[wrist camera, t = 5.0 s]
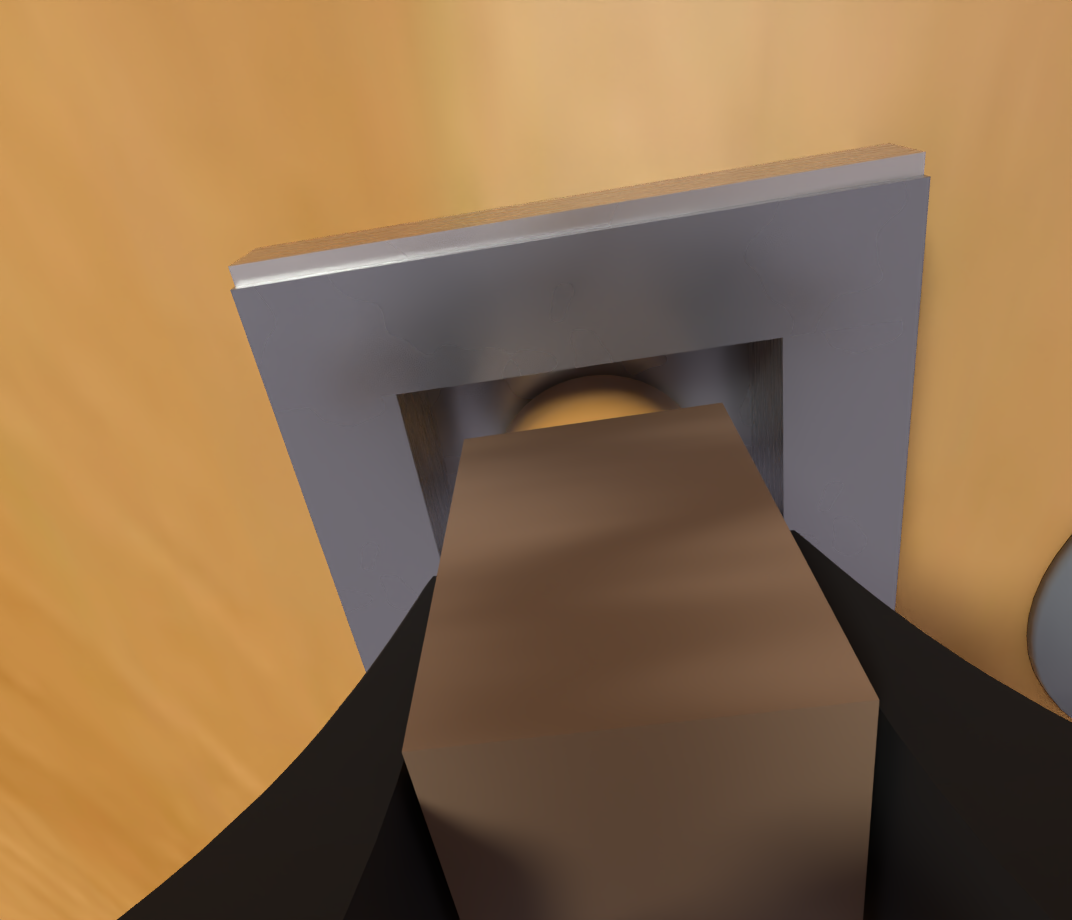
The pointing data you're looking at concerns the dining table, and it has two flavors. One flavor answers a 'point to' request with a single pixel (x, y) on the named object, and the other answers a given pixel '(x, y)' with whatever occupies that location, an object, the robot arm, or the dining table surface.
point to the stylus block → (637, 687)
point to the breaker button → (590, 402)
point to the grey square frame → (601, 349)
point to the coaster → (1054, 630)
